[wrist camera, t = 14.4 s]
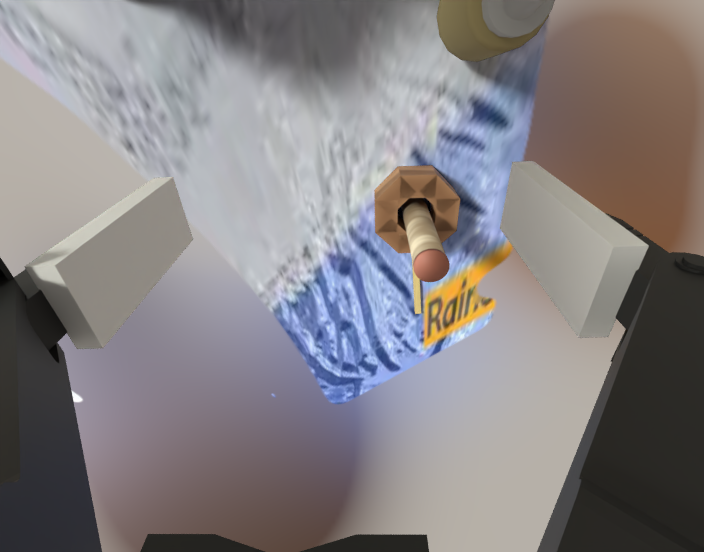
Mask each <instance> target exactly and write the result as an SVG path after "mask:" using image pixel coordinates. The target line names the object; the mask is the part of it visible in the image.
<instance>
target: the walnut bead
mask: <svg viewBox="0 0 704 552" xmlns="http://www.w3.org/2000/svg"><path fill="white" fill-rule="evenodd" d="M409 198H426V199H427V200H428V201H429V202H431V209H430V212H429V213H430V215H431V218H432V221H433V223H434V226H435V228H436V231H437V234H438V236H439V239H440V241H441V243H443V242H444V241H445V240H446V239H447V238H449V237H450V236H451V235H452V234H453V233H455V232H456V231H457V222H458V213H459V205H460V197H459V196H458V194H457V193H456V191H455V190H454V188H453V187H452V186H451V185H450V184H449V183H448V182H447V181H446V180H445V179H444V178H443V177H442V175H441V174H440V173H439V172H438V171H437V170H436V169H435V168H434V167H433V166H432V165H427V166H398V167H397V168H396V169H395V170H394V171H393V172H392V173H391V174H390V175H389V176H388V177H387V178H386V179H385V180H384V181H383V182H382V183H381V184H380V185H379V186H378V187H377V188H376V189H375V233H376V234H377V235H379V236H380V237H381V238H382V239H383V240H384V241H385V242H387V243H388V244H389V245H390V246H391V247H392V248H393V249H394V250H396V251H397V252H398V253H411V251H410V247H409V242H408V237H407V233H406V228H405V223H404V220H403V219H402V218H401V217H400V216H399V215H398V208H400V207H401V206H402V205H403V204H404V203H405V202H406V201H407V200H408V199H409Z"/></svg>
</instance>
